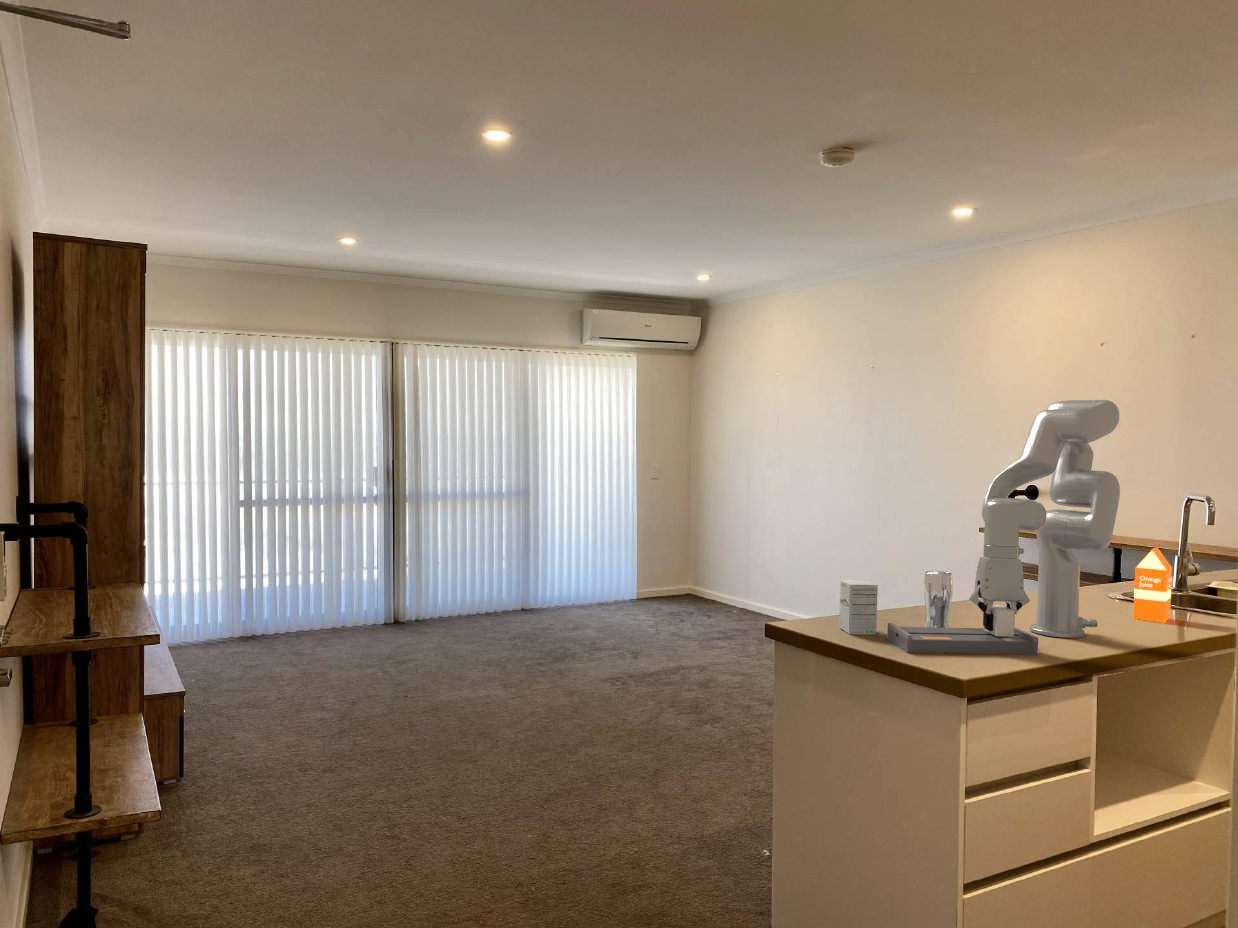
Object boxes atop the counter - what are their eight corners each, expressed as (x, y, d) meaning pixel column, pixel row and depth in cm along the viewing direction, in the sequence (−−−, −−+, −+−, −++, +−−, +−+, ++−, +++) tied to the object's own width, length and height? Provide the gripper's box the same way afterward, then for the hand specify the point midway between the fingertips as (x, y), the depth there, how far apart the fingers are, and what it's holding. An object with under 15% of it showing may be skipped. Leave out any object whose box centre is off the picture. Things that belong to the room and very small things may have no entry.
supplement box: (838, 628, 225) (839, 579, 225) (866, 628, 225) (867, 579, 225) (848, 634, 217) (849, 584, 217) (877, 634, 218) (878, 584, 218)
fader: (999, 634, 211) (1000, 605, 210) (1013, 641, 204) (1014, 610, 203) (983, 634, 210) (984, 604, 210) (996, 641, 203) (997, 610, 203)
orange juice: (1132, 619, 245) (1135, 548, 245) (1139, 614, 252) (1141, 545, 252) (1165, 623, 240) (1168, 550, 240) (1170, 618, 247) (1173, 548, 246)
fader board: (1009, 640, 214) (1009, 624, 214) (1037, 654, 200) (1038, 637, 200) (887, 638, 214) (887, 622, 213) (907, 652, 200) (907, 635, 200)
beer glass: (953, 634, 220) (955, 575, 219) (924, 633, 221) (926, 573, 221) (948, 629, 227) (950, 571, 226) (920, 627, 228) (922, 570, 228)
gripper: (1028, 551, 210) (1025, 627, 211) (959, 550, 210) (956, 626, 211) (1044, 555, 203) (1041, 634, 203) (972, 554, 203) (969, 632, 203)
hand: (998, 629), depth 207 cm, fingers closed on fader, 4 cm apart
